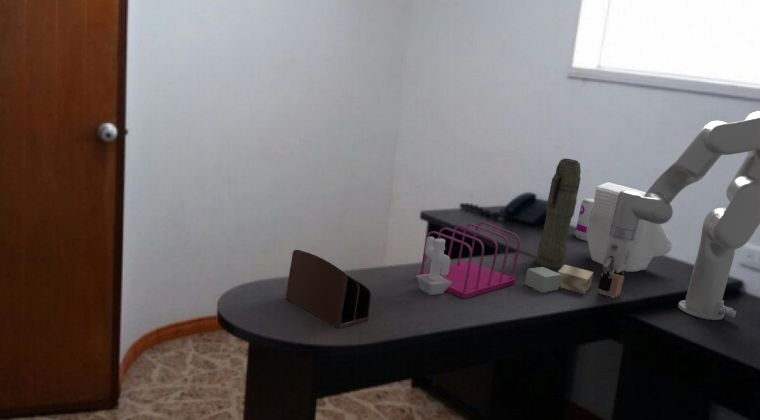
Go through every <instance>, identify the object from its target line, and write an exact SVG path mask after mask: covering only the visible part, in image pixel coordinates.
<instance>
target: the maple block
mask: <svg viewBox="0 0 760 420" xmlns="http://www.w3.org/2000/svg"><path fill="white" fill-rule="evenodd" d="M557 273H558V274H560V275H561V278H560V282H559V287H561V288H560V289H563V288H565V289H564V290H566V289H570V290H574V291H578V292H582V293H586V294H587V292H588V291H589V290H590V288H591V285H592V282H593V277H594V276H593V275H594V273H595V272H594V271H591V270H586V269H584V268H579V267H576V266H572V265H567V264H563V265H562V268H560V269H558V271H557ZM559 287H558V288H559ZM589 287H590V288H589ZM570 290H569V291H570ZM587 290H588V291H587ZM574 291H573V292H574ZM586 291H587V292H586Z"/></svg>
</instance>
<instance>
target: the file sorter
mask: <svg viewBox="0 0 760 420" xmlns="http://www.w3.org/2000/svg"><path fill="white" fill-rule="evenodd" d="M482 224H483V225H486V226H489V227H491V228H494V229H497V230H499V231H502V232H504V233H507V234H509V235H512V236H514V238H516V240H517V247H516V251H515V255H514V258H513V259H514V260H513V265H512V269H511V273H510V276H508V275H506V274H504V271H505V266H506V263H507V261H506V260H507V257H508V252H509V248H510V247H509V246H510V245H509V244H510V243H509V240H508V239H507V237H506V236H505V235H502V234H500V233H497V232H496V231H493V230H490V229H487V228H485V227H483V226H480V225H482ZM470 226H471V227H473V228H475V229H472V228H469V227H470ZM459 228H463V229H464V230H463V232H461V231H458V230H457V229H459ZM478 229H480V230H483V231H486V233H487V232H488V233H490V234H493V235H495V236H498V237H500V238H501V239H503V240H504V241H505V243H506V247H505V252H504V258H503V261H502V266H501V270H500V271H501V272H498V271H496V270H494V269H495V265H496V260H497V256H498V253H499V252H498V251H499V246H498V245H499V244H498V242H497V240H495V238H493V237H490V236H489V235H486V234H485V233H481V232H479V231H478ZM445 230H447V231H449V232H452V235H451V236H449V235H446V234H444V233H442V232H443V231H445ZM467 231H470V232H471V233H473V236H472V235H470V234H466V233H467ZM431 234H435V235H438V236H437V239H441V237H443V238H446V239H449V240H451V241H450V245H449V248H448V249H449V250H448V254H447V256H449V257H450V258H451V254H452V248H453V244H454V242H456V243H460V248H459V253H458V254H459V255H458V259H457V263H455V264H452V265H451V264H450V267H449V273H448V275H446V276H444V275H441V269H440V276H442V277H444V278H445V279H447V280H449V281H451V282H452V283H451V284H450V286H449V287H448V288H447V289H446V290H445V291H444V292H448V293H449V294H452V295H454V296H457V297H459V298H461V299H468V298H471V297H474V296H478V295H481V294H485V293H488V292H492V291H495V290H498V289H502V288H505V287H509V286H513V285H515V282H516V278H514V275H515V274H514V273H515V269H516V266H517V265H516V264H517V261H518V255H519V250H520V246H521V240H520V236H519V235H517V234H516V233H514V232H512V231H509V230H507V229H504V228H502V227H500V226H497V225H494V224H491V223H488V222H485V221H480V222H478V223H477V224H474V223H469V224H467V225H466V226H464V225H462V224H461V225H459V224H458V225H456V226H455V227H454V229H452V228H450V227H443V228H441V229H440V230H439V232H438V231H435V230H434V231H432V230H431V231H429V232H428V233H427V235H426V237H425V242H424V248H423V255H422V260H421V261H422V262H421V269H420V272H417V273H416V275H422V274H429V273H430V269H428V270H425V269H424V268H425V262H426V257H427V256H426V254H425V247H426V241H427V238H428V237H430V236H431ZM456 234H458V235H460V236H462V238H461V240H460V239H457V238H455V235H456ZM477 235H479V236H481V237H484V238H486V239H488V240H490V241H492V242H493V244H494V246H495V250H494V255H493V259H492V265H491V268H488V267H486V266H483V261H484V260H483V259H484V255H485V245H484V243H483V242H482V240H480V239H479V238H477ZM466 237H467V238H468V239H472V244H471V245H470V244H469V243H467V242H465V238H466ZM475 241H477V242H478V243H479V244H480V246H481V254H480V260H479V264H477V263H475V262H472V258H473V253H474V252H473V251H474V247H475V243H476V242H475ZM464 246H466V247H467V248H468V250H469V258H468V261H464V262H461V258H462V254H463V253H462V252H463V247H464ZM424 270H425V271H424Z"/></svg>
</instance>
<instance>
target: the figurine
mask: <svg viewBox="0 0 760 420" xmlns="http://www.w3.org/2000/svg"><path fill="white" fill-rule="evenodd" d="M425 241H426V240H425ZM445 245H446V239H445V238H442V237H440V239H438V238H435V237H434V236H429V237H428V238H427V241H426V247H425V246H424V247H425V254H426V256H425V257H427V258H430V259H431V262H430V269H429V270H430V273H429V274H422V275H417V274H415V278H416V280H417V283H418V286H419V288H420V290H421V291H423V292H425V293H427V294H428V295H430V296H431V295H432V296H433V295H441V294H444V293H445V292H446V291H445V290H446V289H447V288H448V287H449V286H450V284H451V283H452V282H451V281H449V280H447V279H445V278H444V277H442V276H440V269H441V275H444V276H446V275H448V273H449V267H450V265H451V256H450V257H449V256H448V254H445V253H444V252H445V250H446V246H445Z"/></svg>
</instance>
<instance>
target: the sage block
mask: <svg viewBox="0 0 760 420" xmlns="http://www.w3.org/2000/svg"><path fill="white" fill-rule="evenodd" d="M560 278H561V275H560V274H558V272H556V271H553V270H551V269H550V268H547V267H543V266H540V267H539V266H538V267H532V268H527V269H526V274H525V281H524V285H525V284H526V286H527V285H528V286H527V287H529V286H530V288H531V287H533V288H534V290H536V289H537V290H536V291H538V290H539V291H538V292H540V291H541V292H540V293H542V292H544V293H547V292H546V291H550V292H553V291H552V290H556V291H558V290H559V282H560ZM533 288H532V289H533Z"/></svg>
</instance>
